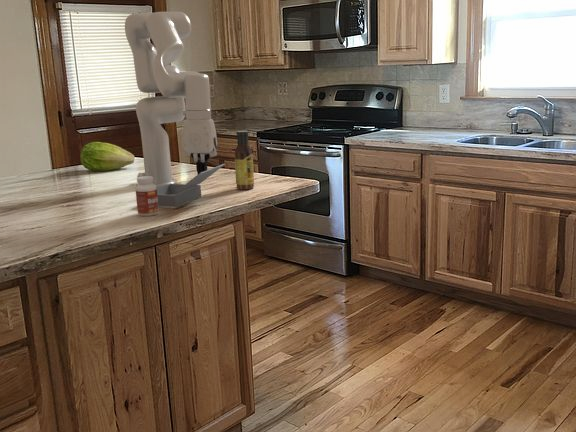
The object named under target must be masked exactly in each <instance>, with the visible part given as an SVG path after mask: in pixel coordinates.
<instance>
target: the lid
mask: <svg viewBox="0 0 576 432" xmlns="http://www.w3.org/2000/svg"><path fill="white" fill-rule="evenodd" d="M225 165H226V164H225V163H222V164H220V165H217V166H215V167H212V168H210V169H207V170H206V171H204V172H201V173H199V174H197V175H196V176H194V177H193V178H192V179H190V180H189V181H188V182H186V183H184V184H185V185H184V186H183V187H181V188H180V189H179V190H177V191H176V192H175V193H178V192H180V191H183V190H185V189H188V188H190V187H193V186H195V185H201V183H203V182H204V181H206V180H207V179H209V178H210V177H211V176H212V175H213V174H215V173H216V172H217V171H219V170H220V169H221V168H223V167H224V166H225Z"/></svg>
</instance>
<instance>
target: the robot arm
mask: <svg viewBox="0 0 576 432" xmlns="http://www.w3.org/2000/svg"><path fill="white" fill-rule="evenodd" d="M124 31H125V37H126V41H127V42H128V43H127V44H129V47H130V50H131V53H132V56H133V65H134V66H133V67H134V72H135V80H136V85H137V89H138V90H139V91H140V92H141V93H143V94H157V93H161V95H162V96H160V95H159V96H147V97H143V98H141V99H138V101H137V103H136V105H135V112H136V117H137V120H138V123H139V124H138V125H139V130H140V136H141V145H142V156H143V166H144V172H138V174H137V175H136V176H137V177H136V179H137V178H138V177H143V176H152V177H153V184H155V185H156V187H157V188H159V187H161V186H164V185H167V184H178V182H177V179H175V178H173V174H172V161H171V151H170V138H169V134H168V133H167V131H166V130H165V129H164V128H163V126H162V124H168V123H169V124H170V123H177V122H181V121H183V125H182V150H183V151H184V153H185V155H186V156H188V157H189V156H190V157H191V158H192V159H193V161H194V162H195V165H196V166H195V167H196V172H197V175H198V174H199V173H201V172H204V171H206V170H208V161H209V160H210V158H213V157H217V155H218V152H217V150H218V137H217V131H216V126H215V121H214V119H212V105H211V87H210V85H211V84H210V77H209V75H208V74H206V73H200V72H198V71H180V70H179V68H178V67H177V66H176V65H172V63H174V62H175V61H178V59H180V58H181V56H183V54H184V51H185V46H184V43H183V41H182V39H187V38H188V37H189V36H190V35H191V33H192V23H191V20H190V17H188V15H187V14H186V13H184V12H183V11H157V12H134V13H132V14H131V13H130V14H129V15H128V16H127V17H126V18H125V20H124ZM149 39H151V41H152V42H151V41H149ZM185 118H186V119H185Z"/></svg>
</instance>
